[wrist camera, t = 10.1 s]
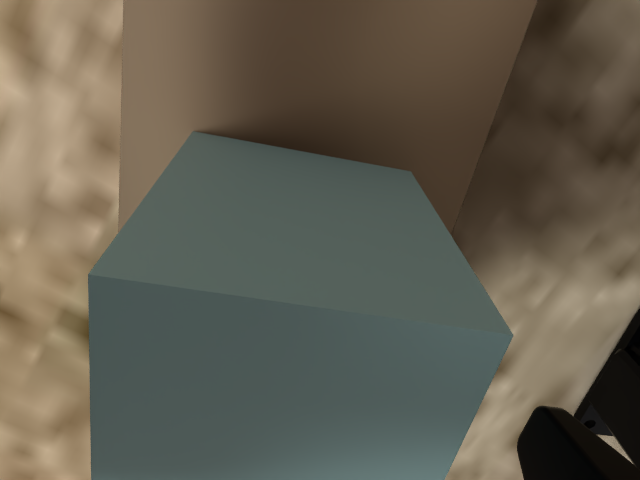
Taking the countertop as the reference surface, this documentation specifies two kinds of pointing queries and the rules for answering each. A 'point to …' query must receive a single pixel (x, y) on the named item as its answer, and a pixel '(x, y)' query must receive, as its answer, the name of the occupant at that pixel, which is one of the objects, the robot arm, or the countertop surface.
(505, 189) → the countertop surface
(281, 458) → the block
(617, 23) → the countertop surface
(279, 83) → the walnut plinth
